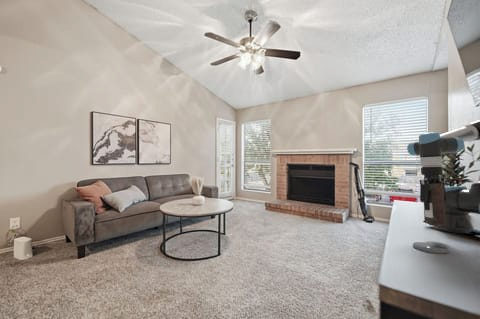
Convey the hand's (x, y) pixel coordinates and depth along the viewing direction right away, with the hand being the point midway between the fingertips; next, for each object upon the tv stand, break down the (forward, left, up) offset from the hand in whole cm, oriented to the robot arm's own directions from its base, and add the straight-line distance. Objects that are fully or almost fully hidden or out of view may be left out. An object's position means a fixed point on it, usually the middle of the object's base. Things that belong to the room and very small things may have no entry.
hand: (434, 216), depth 100 cm
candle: (0, 0, -4) cm, 4 cm away
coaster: (+15, +6, -11) cm, 19 cm away
